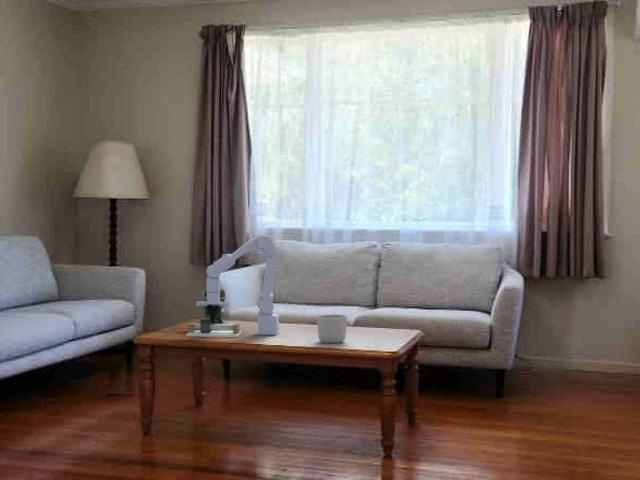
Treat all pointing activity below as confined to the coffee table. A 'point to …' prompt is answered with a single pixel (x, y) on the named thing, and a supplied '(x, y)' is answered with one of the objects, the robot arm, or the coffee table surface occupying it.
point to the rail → (214, 333)
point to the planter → (332, 328)
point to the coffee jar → (220, 314)
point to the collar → (205, 325)
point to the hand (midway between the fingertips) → (213, 322)
